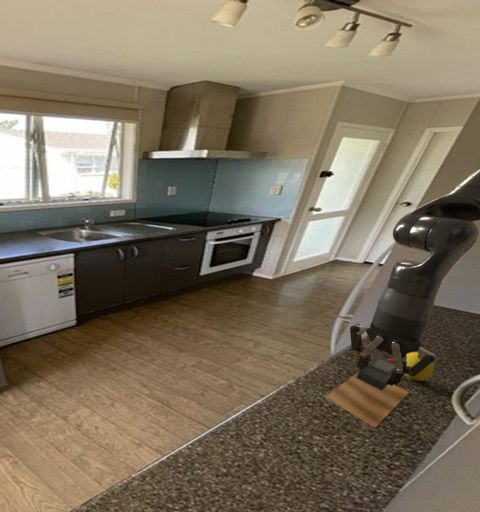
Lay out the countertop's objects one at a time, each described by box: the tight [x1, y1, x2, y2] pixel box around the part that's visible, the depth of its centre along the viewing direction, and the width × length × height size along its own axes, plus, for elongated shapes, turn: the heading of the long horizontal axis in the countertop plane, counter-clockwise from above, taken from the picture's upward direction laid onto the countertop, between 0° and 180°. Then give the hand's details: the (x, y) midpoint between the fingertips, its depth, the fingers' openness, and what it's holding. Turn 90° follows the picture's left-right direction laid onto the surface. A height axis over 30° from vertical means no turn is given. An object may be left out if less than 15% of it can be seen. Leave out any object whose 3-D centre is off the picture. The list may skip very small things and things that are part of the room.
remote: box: [357, 351, 407, 391], centre depth 66 cm, size 14×4×2 cm, turn 120°
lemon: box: [403, 351, 435, 382], centre depth 71 cm, size 6×6×8 cm
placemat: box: [324, 371, 410, 429], centre depth 67 cm, size 20×9×1 cm, turn 119°
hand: (376, 376), depth 65 cm, fingers closed on remote, 4 cm apart
